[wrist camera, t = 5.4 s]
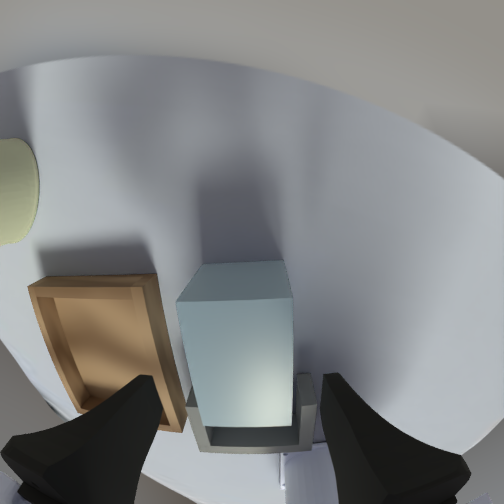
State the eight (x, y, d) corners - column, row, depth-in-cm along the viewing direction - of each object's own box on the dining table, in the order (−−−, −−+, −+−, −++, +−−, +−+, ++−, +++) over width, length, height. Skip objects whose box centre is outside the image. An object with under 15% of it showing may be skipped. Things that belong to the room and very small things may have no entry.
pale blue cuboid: (285, 365, 19) (291, 425, 13) (217, 367, 20) (203, 425, 14) (283, 259, 17) (292, 297, 12) (203, 263, 18) (175, 301, 12)
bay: (307, 420, 20) (311, 450, 17) (206, 422, 21) (199, 451, 18) (310, 372, 19) (317, 404, 16) (195, 376, 20) (185, 406, 16)
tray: (188, 412, 21) (182, 432, 18) (88, 397, 21) (77, 412, 19) (156, 273, 18) (142, 286, 15) (46, 276, 18) (27, 286, 16)
